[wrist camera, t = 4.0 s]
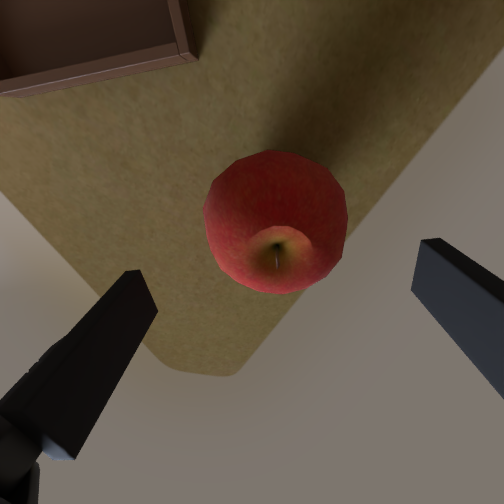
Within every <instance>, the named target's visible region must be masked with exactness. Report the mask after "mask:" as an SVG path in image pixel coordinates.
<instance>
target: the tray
mask: <svg viewBox="0 0 504 504" xmlns="http://www.w3.org/2000/svg"><path fill="white" fill-rule="evenodd" d="M198 60H199V59H198V54H197V49H196V44H195V40H194V35H193V30H192V25H191V20H190V15H189V10H188V5H187V0H0V96H6V97H18V98H22V97H26V96H31V95H36V94H41V93H45V92H50V91H55V90H60V89H64V88H69V87H74V86H79V85H84V84H88V83H93V82H98V81H103V80H107V79H112V78H117V77H122V76H126V75H131V74H136V73H141V72H146V71H150V70H155V69H160V68H165V67H169V66H174V65H179V64H184V63H188V62H193V61H198Z"/></svg>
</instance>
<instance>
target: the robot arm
mask: <svg viewBox="0 0 504 504" xmlns="http://www.w3.org/2000/svg"><path fill="white" fill-rule="evenodd" d="M411 291H412V292H413V293H414V294H415V295H416V297H417V298H418V299H419V300H420V301H421V303H422V304H423V305H424V306H425V307H426V309H427V310H428V311H429V312H430V313H431V314H432V316H433V317H434V318H435V319H436V320H437V321H438V323H439V324H440V325H441V326H442V327H443V328H444V330H445V331H446V332H447V333H448V334H449V335H450V337H451V338H452V339H453V340H454V341H455V342H456V344H457V345H458V346H459V347H460V348H461V350H462V351H463V352H464V353H465V354H466V356H468V358H469V359H470V360H471V361H472V363H473V364H474V365H475V366H476V367H477V368H478V370H480V372H481V373H482V374H483V375H484V376H485V378H486V379H487V380H488V381H489V382H490V384H491V385H492V386H493V387H494V388H495V390H496V391H497V392H498V393H499V394H500V395H501V397H502V398H503V399H504V281H503V280H501V279H500V278H498V277H497V276H495V275H494V274H493V273H491V272H490V271H488V270H487V269H485V268H484V267H482V266H481V265H479V264H478V263H476V262H475V261H473V260H472V259H470V258H469V257H468V256H466V255H464V254H463V253H462V252H460V251H459V250H457V249H456V248H454V247H453V246H451V245H450V244H448V243H447V242H445V241H444V240H442V239H441V238H433V239H424V240H421V242H420V247H419V253H418V257H417V263H416V267H415V272H414V277H413V282H412V287H411ZM157 313H158V309H157V307H156V305H155V303H154V300H153V298H152V296H151V293H150V291H149V289H148V287H147V284H146V282H145V280H144V278H143V275H142V273H141V271H140V270H131V271H125V272H124V273H123V275H122V276H121V277H120V278H119V279H118V280H117V281H116V282H115V283H114V284H113V285H112V286H111V287H110V289H109V290H108V291H107V292H106V293H105V294H104V295H103V296H102V297H101V298H100V300H99V301H98V302H97V303H96V304H95V305H94V306H93V307H92V308H91V309H90V310H89V311H88V313H86V315H85V316H84V317H83V318H82V319H81V320H80V321H79V322H78V323H77V324H76V326H75V327H73V329H72V330H71V331H70V332H69V333H68V334H67V335H66V336H64V337H63V338H62V339H61V340H59V341H58V342H56V343H55V344H54V345H52V346H51V347H50V348H49V349H48V350H47V351H46V352H45V353H44V354H43V355H42V356H41V357H40V359H39V361H38V362H36V363H35V364H34V365H33V366H32V367H31V368H30V369H29V372H28V373H25V374H24V375H23V376H22V378H21V379H20V380H19V381H18V382H17V383H16V384H15V385H14V386H13V387H12V388H11V389H10V390H9V391H8V392H7V393H6V394H5V395H4V397H3V398H2V399H1V400H0V504H38V494H39V476H40V469H39V464H38V463H37V462H36V459H37V458H38V457H39V455H40V454H41V452H42V451H43V452H44V453H45V454H47V455H48V456H49V457H50V458H51V459H52V460H75V459H76V457H77V455H78V453H79V452H80V450H81V448H82V446H83V445H84V443H85V441H86V439H87V437H88V435H89V434H90V432H91V430H92V428H93V427H94V425H95V423H96V421H97V419H98V418H99V416H100V414H101V412H102V411H103V409H104V407H105V405H106V404H107V402H108V400H109V398H110V396H111V395H112V393H113V391H114V389H115V388H116V386H117V384H118V382H119V380H120V379H121V377H122V375H123V373H124V371H125V370H126V368H127V366H128V364H129V363H130V360H131V359H132V357H133V355H134V354H135V352H136V350H137V348H138V346H139V345H140V343H141V341H142V339H143V338H144V336H145V334H146V332H147V330H148V329H149V327H150V325H151V323H152V322H153V320H154V318H155V316H156V314H157Z"/></svg>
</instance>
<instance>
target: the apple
mask: <svg viewBox="0 0 504 504" xmlns="http://www.w3.org/2000/svg"><path fill="white" fill-rule="evenodd" d="M203 214H204V220H205V227H206V234H207V239H208V243H209V246H210V250H211V252H212V253H213V255H214V257H215V259H216V261H217V263H218V265H219V266H220V268H221V269H222V270H223V271H224V272H225V273H227V274H228V275H229V276H230V277H232V278H233V279H234V280H236V281H237V282H238V283H240V284H243V285H245V286H247V287H250V288H252V289H254V290H257V291H259V292H267V293H276V294H286V293H290V292H294V291H298V290H302V289H306V288H308V287H309V286H311V285H313V284H314V283H316V282H318V281H320V280H321V279H323V278H325V277H326V276H327V275H328V274H329V273H330V271H331V270H332V269H333V268H334V266H335V265H336V264H337V263H338V262H339V260H340V259H341V258H342V253H343V247H344V242H345V236H346V230H347V222H348V215H347V208H346V201H345V194H344V190H343V189H342V188H341V186H340V185H339V183H338V182H337V181H336V179H335V178H334V177H333V175H332V174H331V172H330V171H329V170H328V168H326V167H324V166H322V165H320V164H318V163H316V162H313V161H311V160H309V159H306V158H304V157H302V156H300V155H297V154H295V153H290V152H282V151H274V150H266V151H263V152H260V153H257V154H254V155H251V156H248V157H245V158H242V159H239V160H237V161H235V162H234V163H233V164H232V165H230V166H229V167H228V168H227V169H226V170H225V171H224V172H223V173H221V174H220V175H219V176H218V177H217V178H216V179H215V180H214V181H213V182H212V185H211V188H210V190H209V193H208V196H207V198H206V201H205V204H204V207H203Z"/></svg>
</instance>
